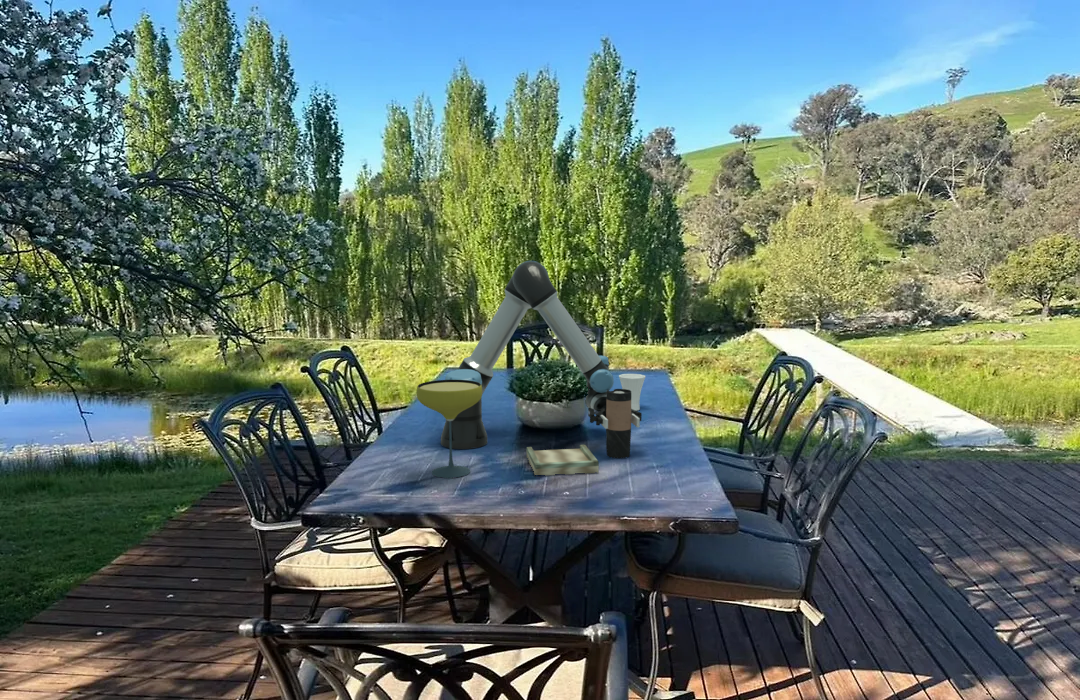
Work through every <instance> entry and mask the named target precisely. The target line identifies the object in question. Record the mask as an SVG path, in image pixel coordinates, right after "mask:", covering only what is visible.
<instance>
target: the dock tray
mask: <svg viewBox="0 0 1080 700" xmlns="http://www.w3.org/2000/svg"><path fill="white" fill-rule="evenodd" d="M527 458H528V459H527ZM526 459H527V461H528V460H529V461H528V463H529V465H531V466H530V467H532V468H531V470H532V469H533V470H532V472H533V471H534V472H533V474H534V476H535V475H545V476H556V475H555V474H565V475H576V474H575V473H585V474H599V473H598V472H599V470H600V469H599V468H600V467H599V466H600V465H599V463H600V462H599V460H598V459H597V458H596V456H595V455H594V454H593V452H592V451H591V450H590V449H589V448H588V447H587V445H586V444H579V448H566V449H565V448H564V449H563V448H562V449H546V450H545V449H543V450H534V449H533V447H532V446H527V447H526ZM595 472H597V473H595Z"/></svg>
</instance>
